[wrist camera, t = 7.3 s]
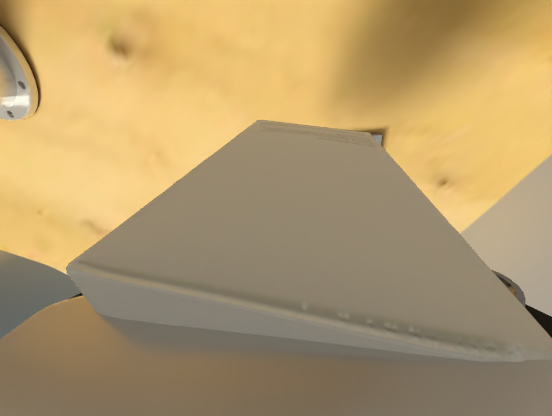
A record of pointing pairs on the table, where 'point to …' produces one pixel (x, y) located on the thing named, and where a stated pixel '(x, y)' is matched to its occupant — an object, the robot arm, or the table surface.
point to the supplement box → (308, 254)
